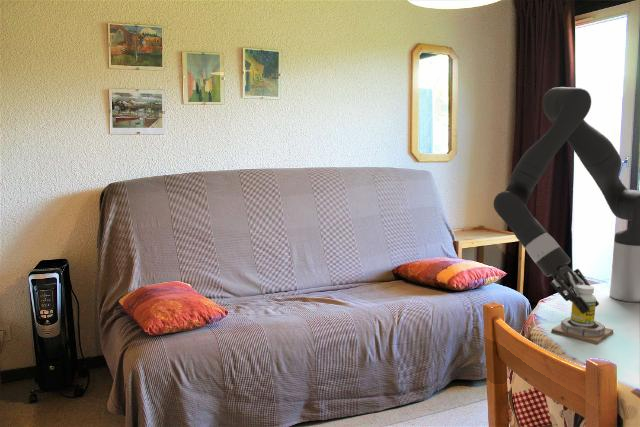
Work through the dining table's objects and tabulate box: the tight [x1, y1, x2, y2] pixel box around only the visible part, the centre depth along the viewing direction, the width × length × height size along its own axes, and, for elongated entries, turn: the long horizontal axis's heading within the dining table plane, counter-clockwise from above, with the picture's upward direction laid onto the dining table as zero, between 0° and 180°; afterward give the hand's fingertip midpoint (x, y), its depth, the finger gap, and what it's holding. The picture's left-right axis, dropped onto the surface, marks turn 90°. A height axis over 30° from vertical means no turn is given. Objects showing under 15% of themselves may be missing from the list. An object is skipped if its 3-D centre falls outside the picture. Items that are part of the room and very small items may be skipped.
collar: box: [551, 316, 614, 345], centre depth 138 cm, size 11×11×2 cm
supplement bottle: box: [570, 285, 597, 327], centre depth 137 cm, size 5×5×10 cm
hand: (591, 309), depth 136 cm, fingers closed on supplement bottle, 5 cm apart
